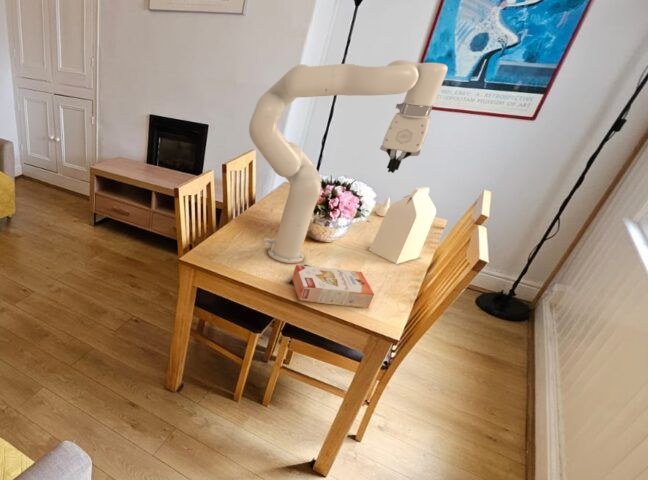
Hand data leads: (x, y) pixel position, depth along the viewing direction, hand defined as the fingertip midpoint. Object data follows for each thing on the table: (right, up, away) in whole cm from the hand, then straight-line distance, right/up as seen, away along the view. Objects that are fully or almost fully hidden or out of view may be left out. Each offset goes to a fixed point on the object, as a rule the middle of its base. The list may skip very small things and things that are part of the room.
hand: (391, 171), depth 142 cm
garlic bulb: (+35, -3, +58) cm, 68 cm away
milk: (+20, -24, +28) cm, 42 cm away
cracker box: (-7, -38, +1) cm, 38 cm away
